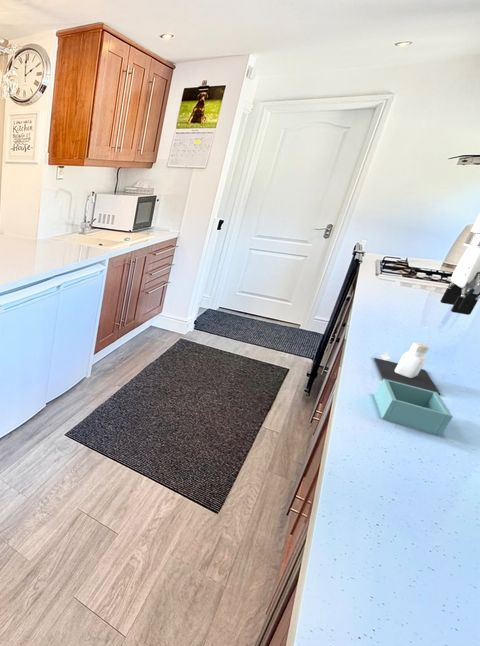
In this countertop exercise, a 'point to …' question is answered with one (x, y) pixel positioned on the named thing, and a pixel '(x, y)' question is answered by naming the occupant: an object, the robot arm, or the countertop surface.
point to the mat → (418, 381)
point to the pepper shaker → (412, 360)
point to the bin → (412, 407)
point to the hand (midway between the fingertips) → (454, 308)
